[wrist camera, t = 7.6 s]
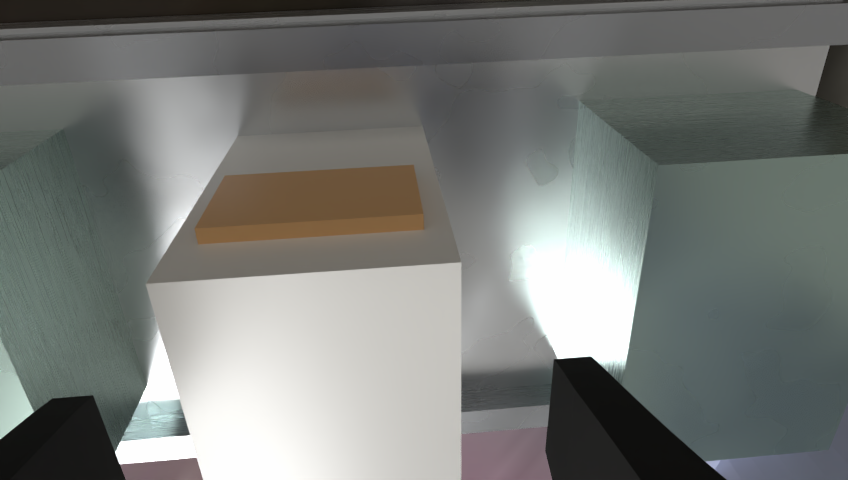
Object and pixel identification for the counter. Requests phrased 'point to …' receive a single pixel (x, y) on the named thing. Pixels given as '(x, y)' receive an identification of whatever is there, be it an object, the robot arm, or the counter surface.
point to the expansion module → (317, 311)
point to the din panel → (460, 198)
